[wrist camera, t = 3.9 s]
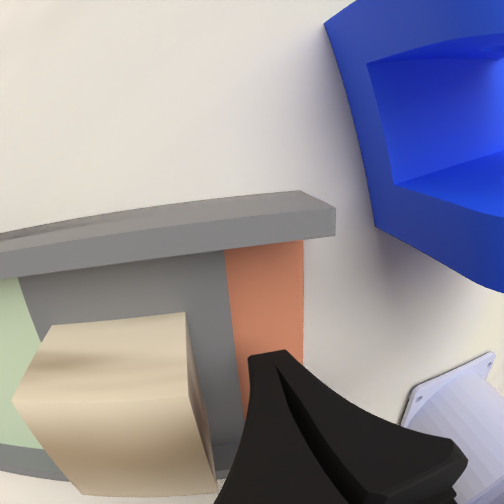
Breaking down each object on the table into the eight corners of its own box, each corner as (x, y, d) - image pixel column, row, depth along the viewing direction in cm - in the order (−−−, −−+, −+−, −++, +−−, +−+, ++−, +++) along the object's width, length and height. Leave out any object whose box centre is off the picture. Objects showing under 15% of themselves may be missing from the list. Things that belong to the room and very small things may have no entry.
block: (206, 412, 12) (218, 492, 9) (95, 420, 11) (82, 494, 8) (185, 311, 11) (188, 396, 7) (51, 325, 10) (11, 400, 6)
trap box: (299, 417, 15) (317, 459, 13) (-71, 416, 11) (-85, 442, 9) (300, 190, 11) (335, 207, 9) (-141, 271, 7) (-166, 290, 5)
